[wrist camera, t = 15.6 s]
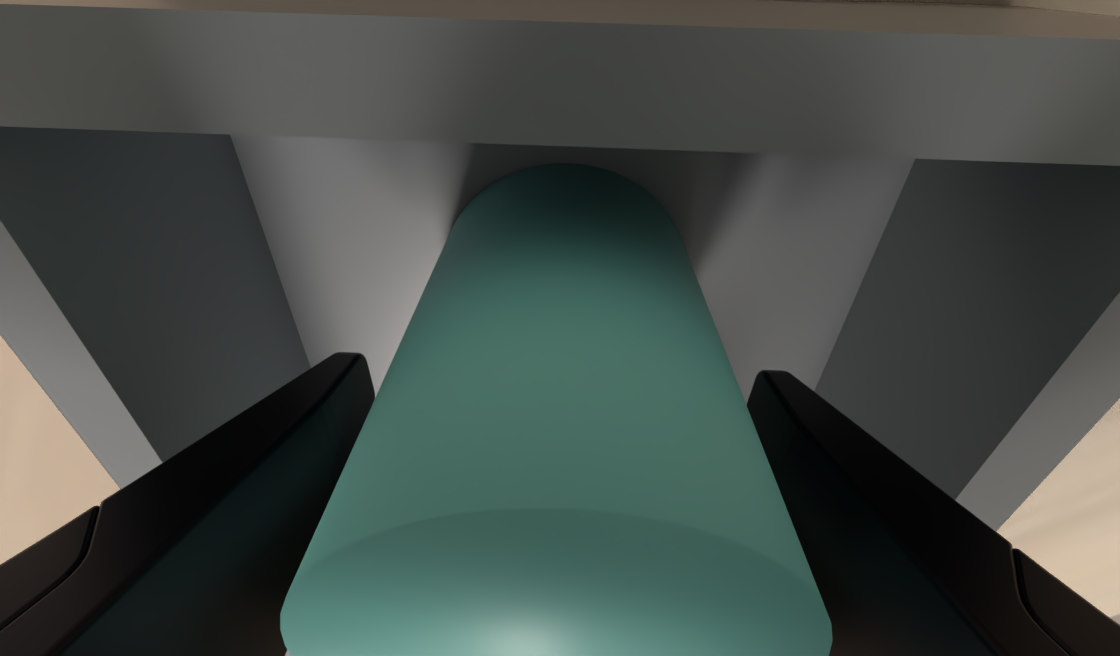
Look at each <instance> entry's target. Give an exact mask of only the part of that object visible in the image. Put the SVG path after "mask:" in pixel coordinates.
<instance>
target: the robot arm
mask: <svg viewBox="0 0 1120 656" xmlns="http://www.w3.org/2000/svg"><path fill="white" fill-rule="evenodd" d="M374 400H375V390H374V386H373V382H372V378H371V374H370V370H369V366H368V363H367V360H366V357H365V356H364V355H363V354H361V353H357V352H336V353H334V354H332V355H331V356H329V357H327V358H326V359H324V360H323V361H321V362H320V363H318V364H316V365H315V366H313V367H312V368H310V369H309V370H307V371H306V372H304V373H302V374H301V375H299V376H298V377H296V378H295V379H293V380H291V381H290V382H288V383H287V384H285V385H284V386H282V387H280V388H279V389H277V390H276V391H274V392H273V393H271V394H269V395H268V396H266V397H265V398H263V399H262V400H260V401H258V402H257V403H255V404H254V405H252V406H251V407H249V408H248V409H246V410H244V411H243V412H241V413H240V414H238V415H237V416H235V417H233V418H232V419H230V420H229V421H227V422H226V423H224V424H222V425H221V426H219V427H218V428H216V429H215V430H213V431H211V432H210V433H208V434H207V435H205V436H204V437H202V438H200V439H199V440H197V441H196V442H194V443H193V444H191V445H190V446H188V447H186V448H185V449H183V450H182V451H180V452H179V453H177V454H175V455H174V456H172V457H171V458H169V459H168V460H166V461H164V462H163V463H161V464H160V465H158V466H157V467H155V468H153V469H152V470H150V471H149V472H147V473H146V474H144V475H142V476H141V477H139V478H138V479H136V480H135V481H133V482H131V483H130V484H128V485H127V486H125V487H124V488H122V489H120V490H119V491H117V492H116V493H114V494H113V495H111V496H109V497H108V498H106V499H105V500H103V501H102V502H101V504H100V507H99V506H94V507H92V508H90V509H89V510H87V511H86V512H84V513H83V514H81V515H79V516H78V517H76V518H75V519H73V520H72V521H70V522H68V523H67V524H65V525H64V526H62V527H61V528H59V529H57V530H56V531H54V532H53V533H51V534H49V535H48V536H46V537H44V538H43V539H41V540H40V541H38V542H36V543H35V544H33V545H32V546H30V547H28V548H27V549H25V550H23V551H22V552H20V553H19V554H17V555H15V556H14V557H12V558H10V559H9V560H7V561H6V562H4V563H2V564H1V565H0V656H285V655H286V652H287V648H286V646H285V644H284V640H283V637H282V634H281V631H280V613H281V610H282V607H283V604H284V601H285V598H286V595H287V593H288V591H289V589H290V586H291V584H292V582H293V580H294V578H295V575H296V573H297V571H298V569H299V566H300V564H301V562H302V560H303V558H304V555H305V553H306V551H307V549H308V546H309V544H310V542H311V540H312V538H313V535H314V533H315V531H316V529H317V526H318V524H319V522H320V520H321V518H322V515H323V513H324V511H325V509H326V507H327V504H328V502H329V500H330V498H331V495H332V493H333V491H334V489H335V487H336V484H337V482H338V480H339V478H340V475H341V473H342V471H343V469H344V467H345V464H346V462H347V460H348V458H349V455H350V453H351V451H352V449H353V447H354V444H355V442H356V440H357V438H358V435H359V433H360V431H361V429H362V427H363V424H364V422H365V420H366V418H367V416H368V413H369V411H370V409H371V407H372V404H373V402H374ZM746 405H747V408H748V411H749V413H750V416H751V418H752V421H753V423H754V426H755V429H756V431H757V434H758V436H759V439H760V441H761V444H762V447H763V449H764V452H765V454H766V457H767V459H768V462H769V464H770V467H771V470H772V472H773V475H774V477H775V480H776V482H777V485H778V488H779V490H780V493H781V495H782V498H783V500H784V503H785V506H786V508H787V511H788V513H789V516H790V518H791V521H792V523H793V526H794V529H795V531H796V534H797V536H798V539H799V541H800V544H801V547H802V549H803V552H804V554H805V557H806V559H807V562H808V564H809V567H810V570H811V572H812V575H813V577H814V580H815V582H816V585H817V588H818V590H819V593H820V595H821V598H822V600H823V603H824V606H825V608H826V611H827V613H828V616H829V618H830V621H831V625H832V638H833V641H832V645H831V649H830V653H829V656H1120V625H1119V624H1118V623H1116V622H1115V621H1113V620H1112V619H1111V618H1109V617H1108V616H1107V615H1105V614H1104V613H1103V612H1101V611H1100V610H1099V609H1097V608H1096V607H1095V606H1093V605H1092V604H1091V603H1089V602H1088V601H1087V600H1085V599H1084V598H1083V597H1081V596H1080V595H1078V594H1077V593H1076V592H1074V591H1073V590H1072V589H1070V588H1069V587H1068V586H1066V585H1065V584H1064V583H1062V582H1061V581H1060V580H1058V579H1057V578H1056V577H1054V576H1053V575H1052V574H1050V573H1049V572H1048V571H1047V570H1045V569H1044V568H1043V567H1041V566H1040V565H1039V564H1038V563H1036V562H1035V561H1034V560H1032V559H1031V558H1030V557H1028V556H1027V555H1026V554H1025V553H1023V552H1022V551H1021V550H1019V549H1013V548H1012V544H1011V543H1010V542H1009V541H1007V540H1006V539H1005V538H1004V537H1002V536H1001V535H1000V534H998V533H997V532H996V531H994V530H993V529H992V528H991V527H989V526H988V525H987V524H985V523H984V522H983V521H981V520H980V519H979V518H978V517H976V516H975V515H974V514H972V513H971V512H970V511H969V510H967V509H966V508H965V507H963V506H962V505H961V504H959V503H958V502H957V501H956V500H954V499H953V498H952V497H950V496H949V495H948V494H946V493H945V492H944V491H943V490H941V489H940V488H939V487H937V486H936V485H935V484H934V483H932V482H931V481H930V480H928V479H927V478H926V477H924V476H923V475H922V474H921V473H919V472H918V471H917V470H915V469H914V468H913V467H911V466H910V465H909V464H908V463H906V462H905V461H904V460H902V459H901V458H900V457H898V456H897V455H896V454H895V453H893V452H892V451H891V450H889V449H888V448H887V447H886V446H884V445H883V444H882V443H880V442H879V441H878V440H876V439H875V438H874V437H873V436H871V435H870V434H869V433H867V432H866V431H865V430H863V429H862V428H861V427H860V426H858V425H857V424H856V423H854V422H853V421H852V420H851V419H849V418H848V417H847V416H845V415H844V414H843V413H841V412H840V411H839V410H838V409H836V408H835V407H834V406H832V405H831V404H830V403H828V402H827V401H826V400H825V399H823V398H822V397H821V396H819V395H818V394H817V393H816V392H814V391H813V390H812V389H810V388H809V387H808V386H806V385H805V384H804V383H803V382H801V381H800V380H799V379H797V378H796V377H795V376H793V375H792V374H791V373H789V372H787V371H783V370H761V371H760V372H758V374H757V375H756V378H755V381H754V383H753V386H752V389H751V392H750V395H749V398H748V401H747V404H746Z"/></svg>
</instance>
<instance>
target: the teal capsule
mask: <svg viewBox="0 0 1120 656" xmlns="http://www.w3.org/2000/svg"><path fill="white" fill-rule="evenodd" d="M280 631H281V634H282V637H283V640H284V644H285V646H286V648H287V650H288V651H289V653H290V655H291V656H829V653H830V649H831V645H832V641H833V638H832V625H831V621H830V618H829V616H828V613H827V611H826V608H825V606H824V603H823V600H822V598H821V595H820V593H819V590H818V588H817V585H816V582H815V580H814V577H813V575H812V572H811V570H810V567H809V564H808V562H807V559H806V557H805V554H804V552H803V549H802V547H801V544H800V541H799V539H798V536H797V534H796V531H795V529H794V526H793V523H792V521H791V518H790V516H789V513H788V511H787V508H786V506H785V503H784V500H783V498H782V495H781V493H780V490H779V488H778V485H777V482H776V480H775V477H774V475H773V472H772V470H771V467H770V464H769V462H768V459H767V457H766V454H765V452H764V449H763V447H762V444H761V441H760V439H759V436H758V434H757V431H756V429H755V426H754V423H753V421H752V418H751V416H750V413H749V411H748V408H747V405H746V403H745V400H744V398H743V395H742V393H741V390H740V388H739V385H738V382H737V380H736V377H735V375H734V372H733V370H732V367H731V364H730V362H729V359H728V357H727V354H726V352H725V349H724V347H723V344H722V341H721V339H720V336H719V334H718V331H717V329H716V326H715V323H714V321H713V318H712V316H711V313H710V311H709V308H708V305H707V303H706V300H705V298H704V295H703V293H702V290H701V288H700V285H699V282H698V280H697V277H696V275H695V272H694V270H693V267H692V264H691V262H690V259H689V257H688V254H687V252H686V249H685V247H684V244H683V241H682V239H681V236H680V234H679V231H678V229H677V227H676V225H675V223H674V222H673V220H672V218H671V217H670V215H669V214H668V212H667V211H666V210H665V209H664V208H663V206H662V205H661V204H660V203H659V202H658V201H657V200H656V199H655V198H654V197H653V196H652V195H651V194H650V193H649V192H648V191H646V190H645V189H643V188H642V187H640V186H639V185H637V184H636V183H635V182H633V181H631V180H629V179H627V178H625V177H623V176H621V175H619V174H617V173H614V172H611V171H608V170H605V169H602V168H599V167H594V166H589V165H584V164H572V163H556V164H544V165H539V166H534V167H529V168H526V169H523V170H520V171H517V172H514V173H511V174H509V175H507V176H505V177H503V178H501V179H499V180H497V181H495V182H494V183H492V184H491V185H490V186H488V187H487V188H485V189H484V190H482V191H481V192H480V193H479V194H478V195H477V196H476V197H475V198H474V199H473V200H471V201H470V202H469V204H468V205H467V206H466V207H465V209H464V210H463V211H462V212H461V214H460V215H459V217H458V218H457V220H456V222H455V224H454V225H453V227H452V229H451V231H450V234H449V236H448V238H447V240H446V242H445V245H444V247H443V249H442V251H441V254H440V256H439V258H438V260H437V262H436V265H435V267H434V269H433V271H432V273H431V276H430V278H429V280H428V282H427V285H426V287H425V289H424V291H423V293H422V296H421V298H420V300H419V302H418V305H417V307H416V309H415V311H414V313H413V316H412V318H411V320H410V322H409V325H408V327H407V329H406V331H405V333H404V336H403V338H402V340H401V342H400V344H399V347H398V349H397V351H396V353H395V356H394V358H393V360H392V362H391V364H390V367H389V369H388V371H387V373H386V376H385V378H384V380H383V382H382V384H381V387H380V389H379V391H378V393H377V396H376V398H375V400H374V402H373V404H372V407H371V409H370V411H369V413H368V416H367V418H366V420H365V422H364V424H363V427H362V429H361V431H360V433H359V435H358V438H357V440H356V442H355V444H354V447H353V449H352V451H351V453H350V455H349V458H348V460H347V462H346V464H345V467H344V469H343V471H342V473H341V475H340V478H339V480H338V482H337V484H336V487H335V489H334V491H333V493H332V495H331V498H330V500H329V502H328V504H327V507H326V509H325V511H324V513H323V515H322V518H321V520H320V522H319V524H318V526H317V529H316V531H315V533H314V535H313V538H312V540H311V542H310V544H309V546H308V549H307V551H306V553H305V555H304V558H303V560H302V562H301V564H300V566H299V569H298V571H297V573H296V575H295V578H294V580H293V582H292V584H291V586H290V589H289V591H288V593H287V595H286V598H285V601H284V604H283V607H282V610H281V613H280Z"/></svg>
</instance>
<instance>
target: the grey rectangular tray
mask: <svg viewBox="0 0 1120 656" xmlns="http://www.w3.org/2000/svg"><path fill="white" fill-rule="evenodd" d="M556 163H572V164H584V165H589V166H594V167H599V168H602V169H605V170H608V171H611V172H614V173H617V174H619V175H621V176H623V177H625V178H627V179H629V180H631V181H633V182H635V183H636V184H637V185H639V186H640V187H642V188H643V189H645V190H646V191H648V192H649V193H650V194H651V195H652V196H653V197H654V198H655V199H656V200H657V201H658V202H659V203H660V204H661V205H662V206H663V208H664V209H665V210H666V211H667V212H668V214H669V215H670V217H671V218H672V220H673V222H674V223H675V225H676V227H677V229H678V231H679V234H680V236H681V239H682V241H683V244H684V247H685V249H686V252H687V254H688V257H689V259H690V262H691V264H692V267H693V270H694V272H695V275H696V277H697V280H698V282H699V285H700V288H701V290H702V293H703V295H704V298H705V300H706V303H707V305H708V308H709V311H710V313H711V316H712V318H713V321H714V323H715V326H716V329H717V331H718V334H719V336H720V339H721V341H722V344H723V347H724V349H725V352H726V354H727V357H728V359H729V362H730V364H731V367H732V370H733V372H734V375H735V377H736V380H737V382H738V385H739V388H740V390H741V393H742V395H743V398H744V400H745V403H746V404H747V401H748V398H749V395H750V392H751V389H752V386H753V383H754V381H755V378H756V375H757V374H758V372H760V371H761V370H783V371H787V372H789V373H791V374H792V375H793V376H795V377H796V378H797V379H799V380H800V381H801V382H803V383H804V384H805V385H806V386H808V387H809V388H810V389H812V390H813V391H814V392H816V393H817V394H818V395H819V396H821V397H822V398H823V399H825V400H826V401H827V402H828V403H830V404H831V405H832V406H834V407H835V408H836V409H838V410H839V411H840V412H841V413H843V414H844V415H845V416H847V417H848V418H849V419H851V420H852V421H853V422H854V423H856V424H857V425H858V426H860V427H861V428H862V429H863V430H865V431H866V432H867V433H869V434H870V435H871V436H873V437H874V438H875V439H876V440H878V441H879V442H880V443H882V444H883V445H884V446H886V447H887V448H888V449H889V450H891V451H892V452H893V453H895V454H896V455H897V456H898V457H900V458H901V459H902V460H904V461H905V462H906V463H908V464H909V465H910V466H911V467H913V468H914V469H915V470H917V471H918V472H919V473H921V474H922V475H923V476H924V477H926V478H927V479H928V480H930V481H931V482H932V483H934V484H935V485H936V486H937V487H939V488H940V489H941V490H943V491H944V492H945V493H946V494H948V495H949V496H950V497H952V498H953V499H954V500H956V501H957V502H958V503H959V504H961V505H962V506H963V507H965V508H966V509H967V510H969V511H970V512H971V513H972V514H974V515H975V516H976V517H978V518H979V519H980V520H981V521H983V522H984V523H985V524H987V525H988V526H989V527H991V528H992V529H993V530H994V531H997V530H998V529H999V528H1000V527H1001V526H1002V525H1003V523H1004V522H1005V521H1006V520H1007V519H1008V518H1009V517H1010V516H1011V515H1012V514H1013V513H1014V512H1015V510H1016V509H1017V508H1018V507H1019V506H1020V505H1021V504H1022V503H1023V502H1024V501H1025V500H1026V499H1027V498H1028V496H1029V495H1030V494H1031V493H1032V492H1033V491H1034V490H1035V489H1036V488H1037V487H1038V486H1039V485H1040V483H1041V482H1042V481H1043V480H1044V479H1045V478H1046V477H1047V476H1048V475H1049V474H1050V473H1051V472H1052V471H1053V469H1054V468H1055V467H1056V466H1057V465H1058V464H1059V463H1060V462H1061V461H1062V460H1063V459H1064V458H1065V456H1066V455H1067V454H1068V453H1069V452H1070V451H1071V450H1072V449H1073V448H1074V447H1075V446H1076V445H1077V444H1078V442H1079V441H1080V440H1081V439H1082V438H1083V437H1084V436H1085V435H1086V434H1087V433H1088V432H1089V431H1090V429H1091V428H1092V427H1093V426H1094V425H1095V424H1096V423H1097V422H1098V421H1099V420H1100V419H1101V418H1102V417H1103V415H1104V414H1105V413H1106V412H1107V411H1108V410H1109V409H1110V408H1111V407H1112V406H1113V405H1114V404H1115V402H1116V401H1117V400H1118V399H1119V398H1120V17H1117V16H1107V15H1098V14H1088V13H1078V12H1068V11H1059V10H1049V9H1039V8H1029V7H1020V6H1005V5H973V4H940V3H908V2H876V1H844V0H0V335H1V336H2V338H3V339H4V340H5V341H6V343H7V344H8V345H9V347H10V348H11V349H12V350H13V352H14V353H15V354H16V356H17V357H18V358H19V359H20V361H21V362H22V363H23V365H24V366H25V367H26V368H27V370H28V371H29V372H30V374H31V375H32V376H33V377H34V379H35V380H36V381H37V382H38V384H39V385H40V386H41V388H42V389H43V390H44V391H45V393H46V394H47V395H48V397H49V398H50V399H51V400H52V402H53V403H54V404H55V406H56V407H57V408H58V409H59V411H60V412H61V413H62V415H63V416H64V417H65V418H66V420H67V421H68V422H69V424H70V425H71V426H72V427H73V429H74V430H75V431H76V432H77V434H78V435H79V436H80V438H81V439H82V440H83V441H84V443H85V444H86V445H87V447H88V448H89V449H90V450H91V452H92V453H93V454H94V456H95V457H96V458H97V459H98V461H99V462H100V463H101V465H102V466H103V467H104V468H105V470H106V471H107V472H108V474H109V475H110V476H111V477H112V479H113V480H114V481H115V482H116V484H117V485H118V486H119V488H120V489H122V488H124V487H125V486H127V485H128V484H130V483H131V482H133V481H135V480H136V479H138V478H139V477H141V476H142V475H144V474H146V473H147V472H149V471H150V470H152V469H153V468H155V467H157V466H158V465H160V464H161V463H163V462H164V461H166V460H168V459H169V458H171V457H172V456H174V455H175V454H177V453H179V452H180V451H182V450H183V449H185V448H186V447H188V446H190V445H191V444H193V443H194V442H196V441H197V440H199V439H200V438H202V437H204V436H205V435H207V434H208V433H210V432H211V431H213V430H215V429H216V428H218V427H219V426H221V425H222V424H224V423H226V422H227V421H229V420H230V419H232V418H233V417H235V416H237V415H238V414H240V413H241V412H243V411H244V410H246V409H248V408H249V407H251V406H252V405H254V404H255V403H257V402H258V401H260V400H262V399H263V398H265V397H266V396H268V395H269V394H271V393H273V392H274V391H276V390H277V389H279V388H280V387H282V386H284V385H285V384H287V383H288V382H290V381H291V380H293V379H295V378H296V377H298V376H299V375H301V374H302V373H304V372H306V371H307V370H309V369H310V368H312V367H313V366H315V365H316V364H318V363H320V362H321V361H323V360H324V359H326V358H327V357H329V356H331V355H332V354H334V353H336V352H357V353H361V354H363V355H364V356H365V357H366V360H367V363H368V366H369V370H370V374H371V378H372V382H373V386H374V390H375V398H376V396H377V393H378V391H379V389H380V387H381V384H382V382H383V380H384V378H385V376H386V373H387V371H388V369H389V367H390V364H391V362H392V360H393V358H394V356H395V353H396V351H397V349H398V347H399V344H400V342H401V340H402V338H403V336H404V333H405V331H406V329H407V327H408V325H409V322H410V320H411V318H412V316H413V313H414V311H415V309H416V307H417V305H418V302H419V300H420V298H421V296H422V293H423V291H424V289H425V287H426V285H427V282H428V280H429V278H430V276H431V273H432V271H433V269H434V267H435V265H436V262H437V260H438V258H439V256H440V254H441V251H442V249H443V247H444V245H445V242H446V240H447V238H448V236H449V234H450V231H451V229H452V227H453V225H454V224H455V222H456V220H457V218H458V217H459V215H460V214H461V212H462V211H463V210H464V209H465V207H466V206H467V205H468V204H469V202H470V201H471V200H473V199H474V198H475V197H476V196H477V195H478V194H479V193H480V192H481V191H482V190H484V189H485V188H487V187H488V186H490V185H491V184H492V183H494V182H495V181H497V180H499V179H501V178H503V177H505V176H507V175H509V174H511V173H514V172H517V171H520V170H523V169H526V168H529V167H534V166H539V165H544V164H556ZM285 656H291V655H290V653H289V651H288V650H287V652H286V655H285Z"/></svg>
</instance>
